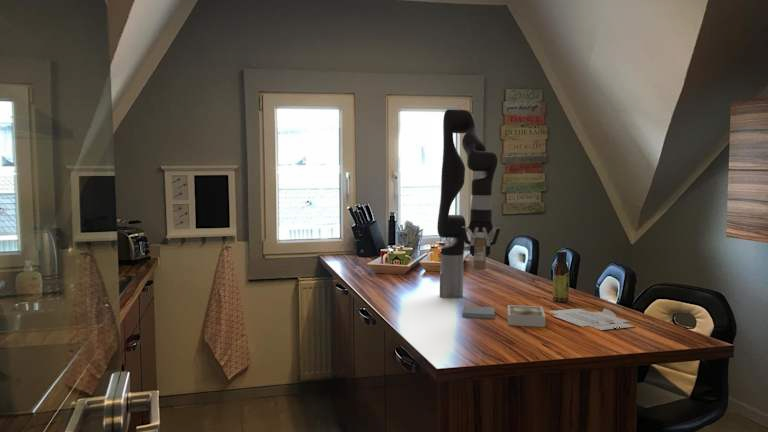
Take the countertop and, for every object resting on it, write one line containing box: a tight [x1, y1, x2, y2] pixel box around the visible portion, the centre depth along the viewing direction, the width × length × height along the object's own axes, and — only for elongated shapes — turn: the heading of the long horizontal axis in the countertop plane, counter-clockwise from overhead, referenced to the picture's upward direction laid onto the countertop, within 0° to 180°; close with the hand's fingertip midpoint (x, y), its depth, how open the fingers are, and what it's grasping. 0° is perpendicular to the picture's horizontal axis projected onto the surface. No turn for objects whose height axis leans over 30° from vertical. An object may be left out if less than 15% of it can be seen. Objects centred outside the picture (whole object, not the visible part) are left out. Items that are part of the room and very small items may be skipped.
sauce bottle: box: [552, 250, 570, 303], centre depth 239 cm, size 7×6×20 cm
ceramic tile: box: [462, 305, 496, 319], centre depth 216 cm, size 11×11×2 cm
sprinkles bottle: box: [472, 232, 487, 271], centre depth 214 cm, size 5×5×13 cm
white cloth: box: [548, 307, 635, 331], centre depth 210 cm, size 20×28×4 cm
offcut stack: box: [513, 308, 538, 316], centre depth 203 cm, size 9×5×5 cm, turn 79°
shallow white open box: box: [506, 304, 547, 328], centre depth 207 cm, size 12×15×4 cm
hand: (480, 255), depth 214 cm, fingers closed on sprinkles bottle, 4 cm apart
